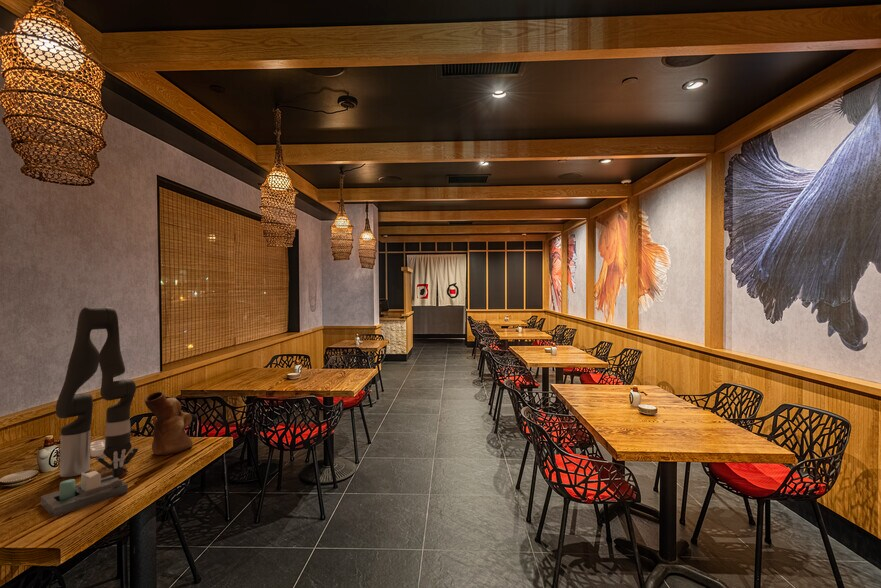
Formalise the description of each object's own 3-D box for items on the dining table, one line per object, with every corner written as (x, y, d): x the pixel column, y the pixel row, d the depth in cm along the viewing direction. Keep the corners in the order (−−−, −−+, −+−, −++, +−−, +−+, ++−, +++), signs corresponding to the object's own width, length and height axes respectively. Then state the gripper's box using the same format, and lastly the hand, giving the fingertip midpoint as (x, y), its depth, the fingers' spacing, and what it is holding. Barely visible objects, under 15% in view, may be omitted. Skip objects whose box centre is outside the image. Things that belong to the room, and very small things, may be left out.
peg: (57, 505, 134) (58, 482, 134) (72, 500, 137) (73, 478, 138) (61, 508, 132) (61, 485, 132) (76, 503, 135) (76, 480, 136)
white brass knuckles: (124, 451, 186) (83, 460, 175) (120, 442, 198) (82, 450, 188) (124, 444, 186) (83, 452, 175) (120, 436, 199) (82, 443, 188)
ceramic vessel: (199, 445, 191) (200, 386, 192) (158, 463, 170) (158, 396, 171) (175, 443, 195) (175, 384, 196) (131, 460, 174) (132, 394, 175)
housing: (40, 504, 135) (40, 493, 135) (111, 482, 152) (112, 472, 152) (53, 517, 126) (53, 506, 126) (127, 492, 143) (127, 482, 143)
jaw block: (81, 488, 140) (81, 473, 140) (95, 484, 143) (95, 469, 144) (86, 492, 137) (86, 476, 137) (100, 487, 140) (100, 472, 140)
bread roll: (107, 482, 160) (97, 466, 159) (134, 468, 163) (124, 452, 162) (95, 492, 151) (85, 475, 150) (124, 477, 154) (114, 461, 153)
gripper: (135, 425, 155) (134, 468, 154) (92, 435, 144) (91, 481, 143) (142, 428, 151) (141, 472, 150) (99, 438, 140) (98, 486, 139)
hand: (117, 477), depth 147 cm, fingers closed
